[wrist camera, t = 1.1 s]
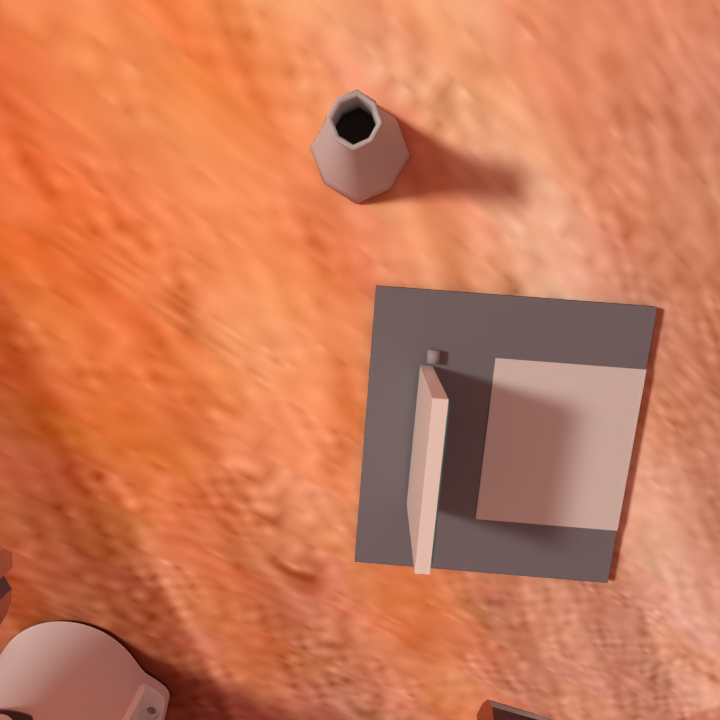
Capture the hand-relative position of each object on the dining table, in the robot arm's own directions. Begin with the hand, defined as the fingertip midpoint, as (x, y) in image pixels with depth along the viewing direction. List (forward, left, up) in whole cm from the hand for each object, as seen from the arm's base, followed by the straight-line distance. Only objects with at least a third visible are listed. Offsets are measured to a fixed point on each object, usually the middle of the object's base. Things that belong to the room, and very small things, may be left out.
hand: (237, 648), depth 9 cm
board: (-8, -13, -36) cm, 39 cm away
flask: (+14, 0, -36) cm, 39 cm away
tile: (-8, -7, -35) cm, 36 cm away
